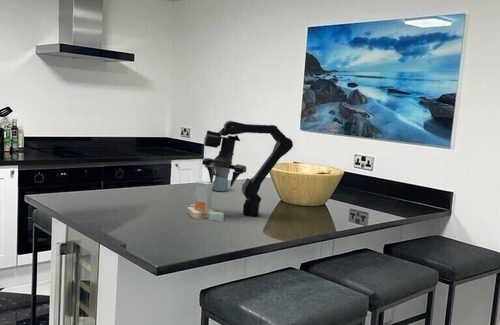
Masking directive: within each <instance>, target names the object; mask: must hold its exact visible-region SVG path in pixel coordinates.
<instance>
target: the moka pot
mask: <svg viewBox="0 0 500 325" xmlns="http://www.w3.org/2000/svg"><path fill="white" fill-rule="evenodd" d="M213 166H214V165H213ZM228 167H229V166H228ZM230 171H231V169H229V168H221V167H215V170H214V179H213V180H214V181H213V186H212V191H215V192H224V193H225V192H228V191H229V190H228V189H229V188H228V187H229V175H230Z"/></svg>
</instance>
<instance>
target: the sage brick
mask: <svg viewBox="0 0 500 325" xmlns="http://www.w3.org/2000/svg"><path fill="white" fill-rule="evenodd" d="M224 216H225V214H224V212H222V211H221V212H219V211H216V212H209V214H208V218H207V220H208V221H210V222H211V221H213V222H215V221H217V222H220V221H221V222H224Z"/></svg>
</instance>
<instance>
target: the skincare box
mask: <svg viewBox="0 0 500 325" xmlns="http://www.w3.org/2000/svg"><path fill="white" fill-rule="evenodd" d="M213 184H214V182H212V183H211V182H210V181H205V180H204V181H203V180H199V181H196V182H195V194H194V202H193V204H194V209H196V210H201V211H205V212H206V211H209V210H211V209H212V195H213V190H212V187H213Z"/></svg>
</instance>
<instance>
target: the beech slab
mask: <svg viewBox="0 0 500 325" xmlns="http://www.w3.org/2000/svg"><path fill="white" fill-rule="evenodd" d="M209 212H217V211H216V210H214V209H213V208H211V210H209V211H206V212H205V211H201V210H196V209H194V207H190V206H189V207H186V214H188V215H189V216H190V217H191V218H192V219H194V220H197V219H198V220H199V219H202V220H203V219H204V220H205V219H208V214H209Z"/></svg>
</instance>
